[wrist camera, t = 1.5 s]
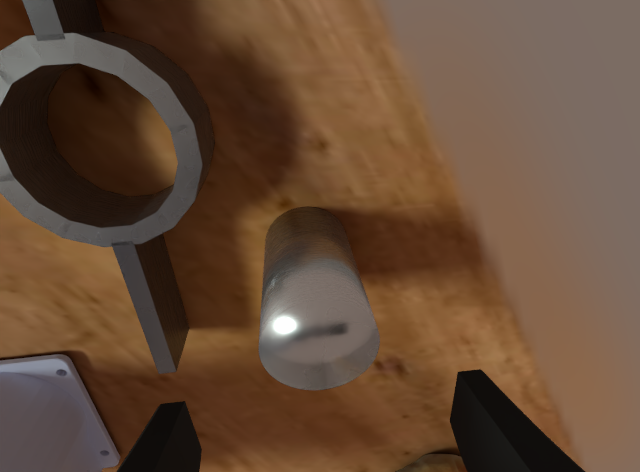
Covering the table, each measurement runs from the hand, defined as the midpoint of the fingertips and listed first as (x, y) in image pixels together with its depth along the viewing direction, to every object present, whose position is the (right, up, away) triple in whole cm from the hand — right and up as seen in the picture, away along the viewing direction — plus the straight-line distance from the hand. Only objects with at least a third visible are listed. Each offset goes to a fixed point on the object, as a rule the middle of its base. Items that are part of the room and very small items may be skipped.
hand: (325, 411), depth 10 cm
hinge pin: (-1, +4, +9) cm, 10 cm away
